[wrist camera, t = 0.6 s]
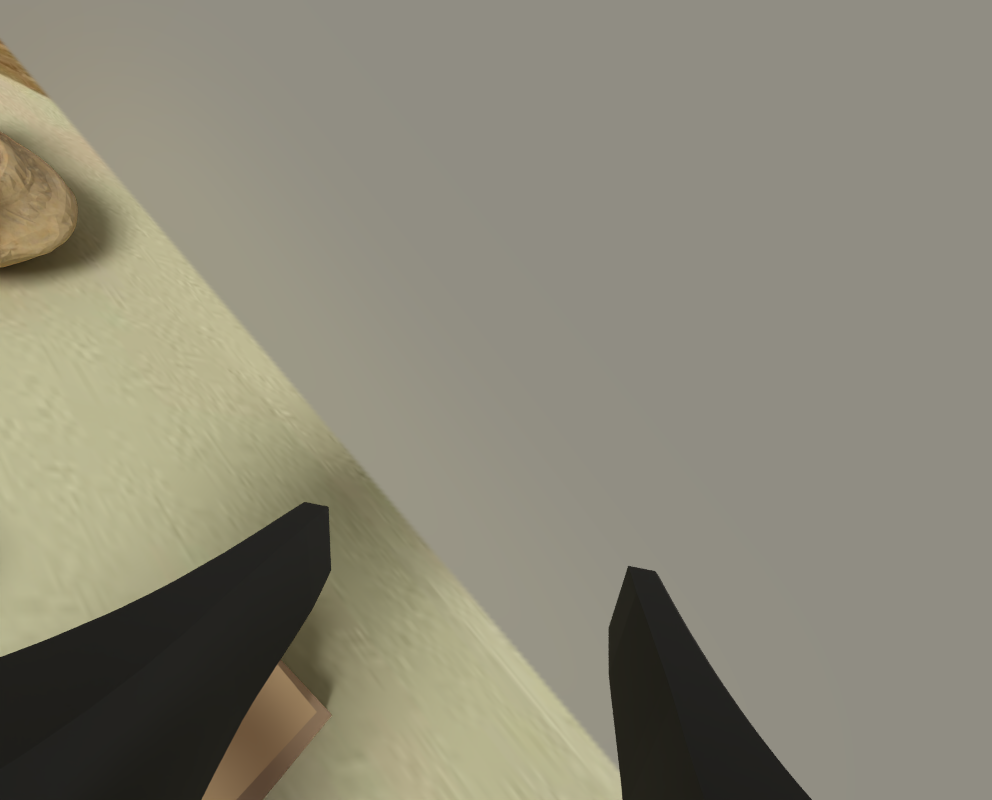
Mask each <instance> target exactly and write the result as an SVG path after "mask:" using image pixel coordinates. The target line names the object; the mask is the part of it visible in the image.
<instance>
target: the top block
mask: <svg viewBox="0 0 992 800" xmlns="http://www.w3.org/2000/svg"><path fill="white" fill-rule="evenodd" d="M315 714H316V710H315V709H314V708H313V707H312V705H311V704H310V703H309V702H308V701H307V699H306V698H305V697H304V696H303V695H302V693H301V692H300V691H299V690H298V689H297V687H296V686H295V685H294V684H293V683H292V681H291V680H290V679H289V678H288V676H287V675H286V674H285V673H284V672H283V670H282V669H281V668H280V667H279V666H278V664H277V666H276V667H275V669H274V670H273V672H272V674H271V675H270V677H269V678H268V680H267V681H266V683H265V684H264V686H263V688H262V689H261V691H260V692H259V694H258V695H257V697H256V699H255V700H254V702H253V703H252V705H251V707H250V709H249V710H248V712H247V714H246V715H245V717H244V719H243V720H242V722H241V724H240V726H239V728H238V730H237V732H236V734H235V736H234V737H233V739H232V741H231V743H230V745H229V747H228V749H227V751H226V753H225V755H224V756H223V758H222V760H221V762H220V764H219V766H218V768H217V770H216V772H215V774H214V776H213V778H212V780H211V782H210V784H209V786H208V788H207V790H206V792H205V794H204V796H203V798H202V800H236V799H237V798H238V797H239V796H240V795H241V794H242V793H243V792H244V791H245V790H246V789H247V787H248V786H249V785H250V784H251V783H252V782H253V781H254V780H255V779H256V778H257V777H258V775H259V774H260V773H261V772H262V771H263V770H264V769H265V768H266V767H267V766H268V765H269V764H270V762H271V761H272V760H273V759H274V758H275V757H276V756H277V755H278V754H279V753H280V752H281V750H282V749H283V748H284V747H285V746H286V745H287V744H288V743H289V742H290V741H291V740H292V739H293V737H294V736H295V735H296V734H297V733H298V732H299V731H300V730H301V729H302V728H303V727H304V725H305V724H306V723H307V722H308V721H309V720H310V719H311V718H312V717H313V716H314V715H315Z"/></svg>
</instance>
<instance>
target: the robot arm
mask: <svg viewBox="0 0 992 800" xmlns="http://www.w3.org/2000/svg"><path fill="white" fill-rule="evenodd" d="M330 571H331V556H330V532H329V507H327V506H322V505H317V504H312V503H307V502H304V503H302V504H301V505H299V506H297V507H296V508H294V509H293V510H291V511H289V512H288V513H286V514H285V515H283V516H282V517H280V518H279V519H277V520H275V521H274V522H272V523H271V524H269V525H268V526H266V527H265V528H263V529H261V530H260V531H258V532H257V533H255V534H254V535H252V536H250V537H249V538H247V539H245V540H244V541H242V542H241V543H239V544H237V545H236V546H234V547H233V548H231V549H229V550H228V551H226V552H225V553H223V554H221V555H219V556H218V557H216V558H214V559H212V560H211V561H209V562H207V563H205V564H204V565H202V566H200V567H198V568H197V569H195V570H193V571H191V572H190V573H188V574H186V575H184V576H183V577H181V578H179V579H177V580H175V581H174V582H172V583H170V584H168V585H166V586H164V587H162V588H160V589H158V590H156V591H154V592H152V593H150V594H149V595H146V596H144V597H142V598H140V599H138V600H136V601H134V602H132V603H130V604H128V605H126V606H124V607H122V608H119V609H117V610H115V611H113V612H111V613H109V614H106V615H104V616H102V617H99V618H97V619H95V620H92V621H90V622H87V623H85V624H83V625H80V626H78V627H76V628H73V629H71V630H69V631H66V632H64V633H62V634H59V635H57V636H54V637H52V638H50V639H47V640H45V641H42V642H39V643H37V644H34V645H32V646H29V647H26V648H24V649H21V650H18V651H16V652H13V653H10V654H8V655H5V656H2V657H0V800H202V798H203V796H204V794H205V792H206V790H207V788H208V786H209V784H210V782H211V780H212V778H213V776H214V774H215V772H216V770H217V768H218V766H219V764H220V762H221V760H222V758H223V756H224V755H225V753H226V751H227V749H228V747H229V745H230V743H231V741H232V739H233V737H234V736H235V734H236V732H237V730H238V728H239V726H240V724H241V722H242V720H243V719H244V717H245V715H246V714H247V712H248V710H249V709H250V707H251V705H252V703H253V702H254V700H255V699H256V697H257V695H258V694H259V692H260V691H261V689H262V688H263V686H264V684H265V683H266V681H267V680H268V678H269V677H270V675H271V674H272V672H273V670H274V669H275V667H276V666H277V664H278V663H279V661H280V660H281V658H282V656H283V655H284V653H285V652H286V650H287V649H288V647H289V645H290V644H291V642H292V641H293V639H294V638H295V636H296V634H297V633H298V631H299V630H300V628H301V627H302V625H303V623H304V622H305V620H306V619H307V617H308V615H309V614H310V612H311V611H312V609H313V607H314V605H315V603H316V601H317V599H318V597H319V595H320V593H321V591H322V588H323V586H324V584H325V582H326V580H327V578H328V576H329V573H330ZM609 680H610V690H611V699H612V708H613V716H614V725H615V734H616V742H617V751H618V760H619V769H620V777H621V786H622V799H623V800H812V799H811V798H810V797H809V796H808V795H807V794H806V792H805V791H804V790H803V789H802V788H801V787H800V786H799V784H798V783H797V782H796V781H795V780H794V778H793V777H792V776H791V775H790V774H789V772H788V771H787V770H786V769H785V768H784V766H783V765H782V764H781V763H780V761H779V760H778V759H777V758H776V756H775V755H774V754H773V752H772V751H771V750H770V749H769V747H768V746H767V745H766V743H765V742H764V741H763V740H762V738H761V737H760V736H759V734H758V733H757V732H756V730H755V729H754V727H753V726H752V725H751V723H750V722H749V721H748V719H747V718H746V717H745V715H744V714H743V712H742V711H741V710H740V708H739V707H738V705H737V704H736V702H735V701H734V699H733V698H732V697H731V695H730V694H729V692H728V691H727V689H726V688H725V686H724V685H723V683H722V682H721V680H720V679H719V677H718V676H717V674H716V673H715V671H714V670H713V668H712V667H711V665H710V664H709V662H708V660H707V659H706V657H705V655H704V654H703V652H702V651H701V649H700V648H699V646H698V644H697V642H696V641H695V639H694V638H693V636H692V634H691V633H690V631H689V629H688V628H687V626H686V624H685V622H684V621H683V619H682V617H681V616H680V614H679V612H678V610H677V608H676V607H675V605H674V603H673V602H672V600H671V598H670V596H669V594H668V592H667V591H666V589H665V587H664V585H663V583H662V581H661V579H660V578H659V576H658V574H657V573H656V572H655V571H652V570H646V569H641V568H636V567H631V566H628V568H627V572H626V575H625V578H624V581H623V585H622V587H621V591H620V594H619V597H618V600H617V603H616V606H615V610H614V613H613V616H612V620H611V622H610V626H609Z"/></svg>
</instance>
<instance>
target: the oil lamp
mask: <svg viewBox="0 0 992 800" xmlns="http://www.w3.org/2000/svg"><path fill="white" fill-rule="evenodd" d="M77 215H78V205H77V202H76V198H75V195H74V193H73V192H72V190H71V189H70V188H69V187H68V186H67V185H66V184H65V182H64V181H63V179H62V178H61V177H60V176H59V175H58V174H57V173H56V172H55V170H54V169H53V168H51V167H50V166H49V165H48V164H47V163H46V162H45V161H43V160H42V159H41V158H40V157H38V156H37V155H35V154H34V153H32V152H31V151H30V150H28V149H26V148H25V147H23V146H22V145H20V144H18V143H17V142H15V141H14V140H13V139H11V138H10V137H9V136H7V135H5V134H4V133H2V132H0V268H1V267H6V266H9V265H13V264H17V263H20V262H23V261H27V260H30V259H32V258H35V257H37V256H41V255H44V254H47V253H50V252H52V251H53V250H54V249H56V248H57V247H59V246H60V245H62V244H63V243H64V242H65V241H67V240H68V239H69V237H70V236H71V234H72V233H73V232H74V229H75V227H76V224H77Z"/></svg>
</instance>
